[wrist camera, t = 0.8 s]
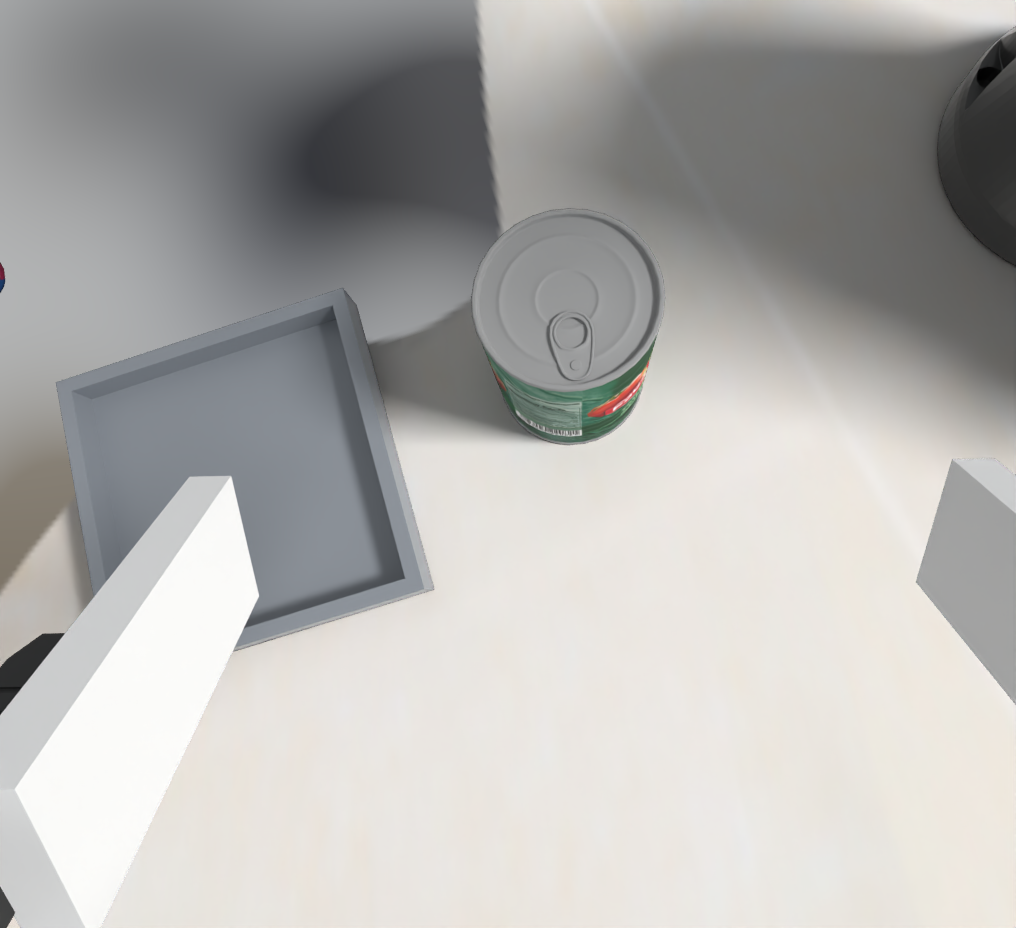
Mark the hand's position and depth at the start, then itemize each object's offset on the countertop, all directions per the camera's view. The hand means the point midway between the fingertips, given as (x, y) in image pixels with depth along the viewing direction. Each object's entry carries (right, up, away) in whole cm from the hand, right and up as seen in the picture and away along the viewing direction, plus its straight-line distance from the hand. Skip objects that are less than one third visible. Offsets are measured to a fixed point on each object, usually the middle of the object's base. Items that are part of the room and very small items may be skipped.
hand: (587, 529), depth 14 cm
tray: (-16, 0, +27) cm, 32 cm away
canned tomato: (+2, +6, +27) cm, 28 cm away
